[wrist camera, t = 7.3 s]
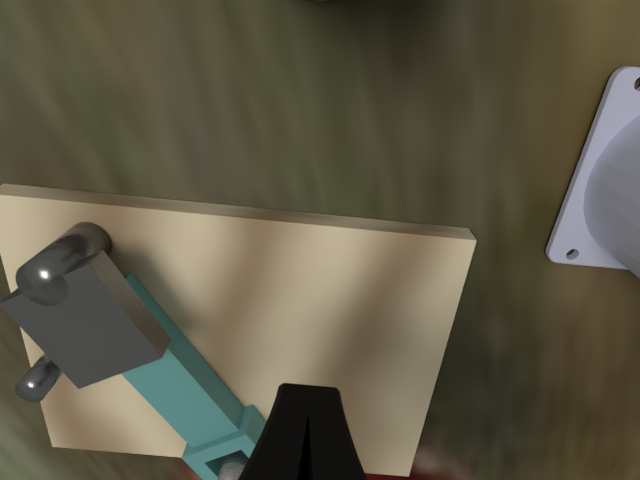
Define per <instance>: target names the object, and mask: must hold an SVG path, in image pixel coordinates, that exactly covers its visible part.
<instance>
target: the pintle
mask: <svg viewBox="0 0 640 480" xmlns="http://www.w3.org/2000/svg"><path fill="white" fill-rule="evenodd" d="M248 460H249V458H248V457H247V456H246V454H245V453H244V452H243V451H242V450H239V451H236V452H233V453H230V454H228V455H225V456H223V460H222V464H221V468H220V472H219V476H218V480H238V478H239V476H240V475H241V473H242V471H243V469H244V467H245V465H246V464H247V462H248Z"/></svg>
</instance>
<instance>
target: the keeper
mask: <svg viewBox="0 0 640 480" xmlns="http://www.w3.org/2000/svg"><path fill="white" fill-rule="evenodd" d="M111 251H112V240H111V238H110V236H109V234H108V233H107V232H106V231H105V230H104V229H103V228H102V227H100V226H99V225H97V224H94V223H91V222H80V223H77V224H75V225H74V226H73V227H71V228H70V229H69V230H67V231H66V232H65V233H64V234H62V235H61V236H60V237H58V238H57V239H56V240H54V241H53V242H52V243H51V244H49V245H48V246H47V247H45V248H44V249H43V250H41V251H40V252H39V253H38V254H36V255H35V256H34V257H32V258H31V259H30V260H28V261H27V262H26V263H25V264H23V265H22V266H21V267H20V268H19V269H18V270H17V272H16V276H15V279H16V284H17V286H18V288H17V289H16V290H15V291H14V292H12V293H11V294H10V295H9V296H7V297H6V298H5V299H4V300H3V301H1V302H0V306H1V307H2V308H3V309H4V310H5V311H6V312H7V313H8V314H9V315H10V316H11V317H12V318H13V320H14V321H15V322H16V323H17V324H18V325H19V326H20V327H21V328H22V329H23V330H24V331H25V332H26V333H27V334H28V336H29V337H30V338H31V339H32V340H33V341H34V342H35V343H36V344H37V345H38V346H39V347H40V348H41V349H42V350H43V352H44V354H43V355H42V356H41V357H40V358H39V359H38V360H37V362H36V363H35V364H34V365H33V366H32V367H31V368H30V370H29V371H28V372H27V373H26V374H25V375H24V376H23V377H22V379H21V380H20V381H19V382H18V383H17V384H16V386H15V391H16V393H17V394H18V396H19V397H21V398H22V399H24V400H26V401H29V402H40V401H42V400H43V399H44V397H45V396H46V395H47V394H48V392H49V391H50V390H51V388H52V387H53V386H54V384H55V383H56V382H57V381H58V379H59V378H60V377H61V375H62V374H63V373H64V374H65V375H66V376H67V377H68V378H69V379H70V380H71V381H72V383H73V384H74V385H75V386H76V387H77V388H78V389H80V388H83V387H86V386H88V385H91V384H94V383H97V382H99V381H102V380H105V379H107V378H110V377H113V376H116V375H118V374H121V373H124V372H126V371H129V370H132V369H135V368H137V367H140V366H143V365H145V364H148V363H151V362H154V361H156V360H159V359H162V357H163V355H164V353H165V351H166V349H167V347H168V346H169V344H170V342H171V338H170V337H169V336H168V334H167V333H166V332H165V330H164V329H163V328H162V327H161V325H160V324H159V323H158V321H157V320H156V319H155V317H154V316H153V315H152V313H151V312H150V311H149V309H148V308H147V307H146V305H145V304H144V303H143V302H142V300H141V299H140V298H139V296H138V295H137V294H136V292H135V291H134V290H133V288H132V287H131V286H130V284H129V283H128V282H127V280H126V279H125V278H124V277H123V275H122V274H121V273H120V271H119V270H118V269H117V267H116V266H115V265H114V263H113V262H112V261H111V259H110V258H109V257H108V255H109V254H110V253H111Z"/></svg>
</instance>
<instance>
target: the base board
mask: <svg viewBox="0 0 640 480" xmlns="http://www.w3.org/2000/svg"><path fill="white" fill-rule="evenodd" d="M80 222H91V223H94V224H97V225H99V226H100V227H102V228H103V229H104V230H105V231H106V232H107V233H108V234H109V236H110V238H111V240H112V251H111V253H110V254H109V255H108V257H109V258H110V259H111V261H112V262H113V263H114V265H115V266H116V267H117V269H118V270H119V271H120V273H121V274H122V275H123V276H125V275H127V274H129V273H132V274H133V275H134V276H135V277H136V279H137V280H138V281H139V282H140V283H141V285H142V286H143V287H144V288H145V289H146V291H147V292H148V293H149V294H150V295H151V297H152V298H153V299H154V300H155V301H156V303H157V304H158V305H159V306H160V307H161V309H162V310H163V311H164V312H165V313H166V315H167V316H168V317H169V318H170V319H171V321H172V322H173V323H174V324H175V325H176V327H177V328H178V329H179V330H180V331H181V333H182V334H183V335H184V336H185V337H186V338H187V340H188V341H189V342H190V343H191V344H192V346H193V347H194V348H195V349H196V350H197V352H198V353H199V354H200V355H201V356H202V358H203V359H204V360H205V361H206V362H207V364H208V365H209V366H210V367H211V368H212V370H213V371H214V372H215V373H216V374H217V376H218V377H219V378H220V379H221V380H222V382H223V383H224V384H225V385H226V386H227V388H228V389H229V390H230V391H231V392H232V394H233V395H234V396H235V397H236V398H237V400H238V401H239V402H240V403H241V404H242V406H243V407H247V406H250V405H253V406H254V407H255V408H256V409H257V411H258V412H259V413H260V414H261V416H262V417H263V418H264V419H265V420H266V422H267V419H268V417H269V415H270V412H271V410H272V407H273V404H274V401H275V398H276V395H277V391H278V387H279V386H280V385H281V384H283V383H292V384H303V385H315V386H326V387H336V388H337V389H338V390H339V391H340V394H341V400H342V405H343V409H344V413H345V417H346V420H347V424H348V427H349V430H350V433H351V437H352V440H353V443H354V446H355V449H356V451H357V454H358V457H359V460H360V462H361V465H362V467H363V470H364V473H374V474H386V475H398V476H409V474H410V470H411V467H412V463H413V460H414V456H415V453H416V449H417V446H418V442H419V439H420V436H421V432H422V429H423V425H424V422H425V418H426V415H427V411H428V408H429V404H430V401H431V397H432V394H433V390H434V387H435V383H436V380H437V376H438V373H439V370H440V366H441V363H442V359H443V356H444V352H445V349H446V345H447V342H448V338H449V335H450V331H451V328H452V324H453V321H454V317H455V314H456V310H457V307H458V303H459V300H460V297H461V293H462V290H463V286H464V283H465V279H466V276H467V272H468V269H469V265H470V262H471V258H472V255H473V251H474V248H475V244H476V241H477V240H476V239H475V237H474V236H473V234H472V233H471V231H470V230H469V229H468V228H461V227H451V226H440V225H430V224H420V223H409V222H399V221H389V220H378V219H368V218H357V217H347V216H337V215H326V214H316V213H305V212H295V211H285V210H274V209H264V208H254V207H243V206H233V205H222V204H212V203H202V202H191V201H181V200H171V199H160V198H150V197H139V196H129V195H119V194H108V193H98V192H87V191H77V190H67V189H56V188H46V187H36V186H25V185H15V184H2V185H0V254H1V258H2V262H3V265H4V269H5V273H6V276H7V280H8V284H9V288H10V291H11V293H12V292H14V291H15V290H16V289H17V288H18V286H17V284H16V279H15V276H16V272H17V270H18V269H19V268H20V267H21V266H22V265H23V264H25V263H26V262H27V261H28V260H30V259H31V258H32V257H34V256H35V255H36V254H38V253H39V252H40V251H41V250H43V249H44V248H45V247H47V246H48V245H49V244H51V243H52V242H53V241H54V240H56V239H57V238H58V237H60V236H61V235H62V234H64V233H65V232H66V231H67V230H69V229H70V228H71V227H73V226H74V225H75V224H77V223H80ZM20 328H21V327H20ZM21 332H22V336H23V339H24V343H25V347H26V351H27V354H28V358H29V362H30V365H31V367H32V366H33V365H34V364H35V363H36V362H37V360H38V359H39V358H40V357H41V356H42V355H43V354H44V352H43V350H42V349H41V348H40V347H39V346H38V345H37V344H36V343H35V342H34V341H33V340H32V339H31V338H30V337H29V336H28V334H27V333H26V332H25V331H24V330H23V329H22V328H21ZM40 403H41V406H42V410H43V414H44V417H45V421H46V425H47V429H48V432H49V436H50V440H51V443H52V447H62V448H74V449H86V450H98V451H110V452H122V453H134V454H146V455H158V456H170V457H182V455H183V453H184V450H185V447H186V444H187V442H186V441H185V440H184V439H183V438H182V437H181V436H180V435H179V434H178V433H177V432H176V431H175V430H174V429H173V428H172V426H171V425H170V424H169V423H168V422H167V421H166V420H165V419H164V418H163V417H162V416H161V415H160V414H159V413H158V412H157V411H156V410H155V409H154V408H153V407H152V406H151V405H150V404H149V403H148V401H147V400H146V399H145V398H144V397H143V396H142V395H141V394H140V393H139V392H138V391H137V390H136V389H135V388H134V387H133V386H132V385H131V384H130V383H129V382H128V381H127V380H126V379H125V378H124V376H123V375H122V374H118V375H116V376H113V377H110V378H107V379H105V380H102V381H99V382H97V383H94V384H91V385H88V386H86V387H83V388H80V389H78V388H77V387H76V386H75V385H74V384H73V383H72V381H71V380H70V379H69V378H68V377H67V376H66V375H65V374H64V373H63V374H62V375H61V377H60V378H59V379H58V381H57V382H56V383H55V384H54V386H53V387H52V388H51V390H50V391H49V392H48V394H47V395H46V396H45V397H44V399H43V400H42V401H40Z"/></svg>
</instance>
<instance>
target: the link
mask: <svg viewBox="0 0 640 480" xmlns="http://www.w3.org/2000/svg"><path fill="white" fill-rule="evenodd" d="M123 277H124V278H125V279H126V280H127V282H128V283H129V284H130V286H131V287H132V288H133V290H134V291H135V292H136V294H137V295H138V296H139V298H140V299H141V300H142V302H143V303H144V304H145V305H146V307H147V308H148V309H149V311H150V312H151V313H152V315H153V316H154V317H155V319H156V320H157V321H158V323H159V324H160V325H161V327H162V328H163V329H164V330H165V332H166V333H167V334H168V336H169V337H170V338H171V342H170V344H169V346H168V347H167V349H166V351H165V353H164V355H163V357H162V359H159V360H156V361H154V362H151V363H148V364H145V365H143V366H140V367H137V368H135V369H132V370H129V371H126V372H124V373H121V374H122V375H123V376H124V378H125V379H126V380H127V381H128V382H129V383H130V384H131V385H132V386H133V387H134V388H135V389H136V390H137V391H138V392H139V393H140V394H141V395H142V396H143V397H144V398H145V399H146V400H147V401H148V403H149V404H150V405H151V406H152V407H153V408H154V409H155V410H156V411H157V412H158V413H159V414H160V415H161V416H162V417H163V418H164V419H165V420H166V421H167V422H168V423H169V424H170V425H171V426H172V428H173V429H174V430H175V431H176V432H177V433H178V434H179V435H180V436H181V437H182V438H183V439H184V440H185V441H186V442H187V444H186V447H185V450H184V453H183V455H182V459H183V460H184V461H185V462H186V463H187V464H188V465H189V466H190V467H191V468H192V469H193V470H194V471H195V472H196V473H197V474H198V475H199V476H200V477H201V478H202V479H203V480H218V476H219V472H220V468H221V464H222V460H223V456H225V455H228V454H230V453H233V452H236V451H239V450H242V451H243V452H244V453H245V454H246V456H247V457H248V458H250V456H251V453H252V451H253V449H254V447H255V445H256V443H257V441H258V439H259V437H260V435H261V433H262V431H263V429H264V426H265V424H266V420H265V419H264V418H263V417H262V416H261V414H260V413H259V412H258V411H257V409H256V408H255V407H254V406H253V405H250V406H247V407H243V406H242V404H241V403H240V402H239V401H238V400H237V398H236V397H235V396H234V395H233V394H232V392H231V391H230V390H229V389H228V388H227V386H226V385H225V384H224V383H223V382H222V380H221V379H220V378H219V377H218V376H217V374H216V373H215V372H214V371H213V370H212V368H211V367H210V366H209V365H208V364H207V362H206V361H205V360H204V359H203V358H202V356H201V355H200V354H199V353H198V352H197V350H196V349H195V348H194V347H193V346H192V344H191V343H190V342H189V341H188V340H187V338H186V337H185V336H184V335H183V334H182V333H181V331H180V330H179V329H178V328H177V327H176V325H175V324H174V323H173V322H172V321H171V319H170V318H169V317H168V316H167V315H166V313H165V312H164V311H163V310H162V309H161V307H160V306H159V305H158V304H157V303H156V301H155V300H154V299H153V298H152V297H151V295H150V294H149V293H148V292H147V291H146V289H145V288H144V287H143V286H142V285H141V283H140V282H139V281H138V280H137V279H136V277H135V276H134V275H133V274H132V273H129V274H127V275H125V276H123Z"/></svg>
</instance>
